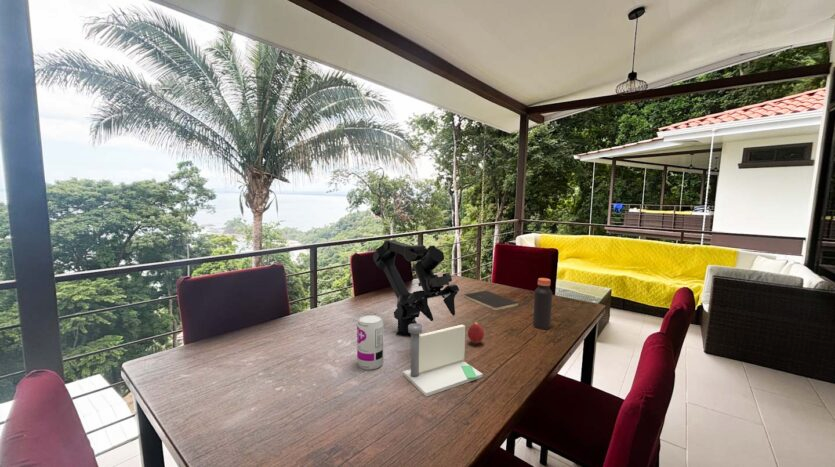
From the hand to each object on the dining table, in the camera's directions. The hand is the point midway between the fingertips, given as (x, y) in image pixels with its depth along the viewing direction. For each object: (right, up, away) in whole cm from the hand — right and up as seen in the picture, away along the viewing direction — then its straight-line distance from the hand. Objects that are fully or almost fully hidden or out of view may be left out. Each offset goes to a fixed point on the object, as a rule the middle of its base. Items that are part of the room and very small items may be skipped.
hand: (443, 317), depth 114 cm
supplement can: (-24, -14, -5) cm, 28 cm away
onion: (+13, -12, +11) cm, 21 cm away
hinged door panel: (-3, -13, -9) cm, 16 cm away
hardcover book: (+29, -7, +60) cm, 67 cm away
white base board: (-1, -15, -12) cm, 19 cm away
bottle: (+43, -11, +28) cm, 52 cm away
